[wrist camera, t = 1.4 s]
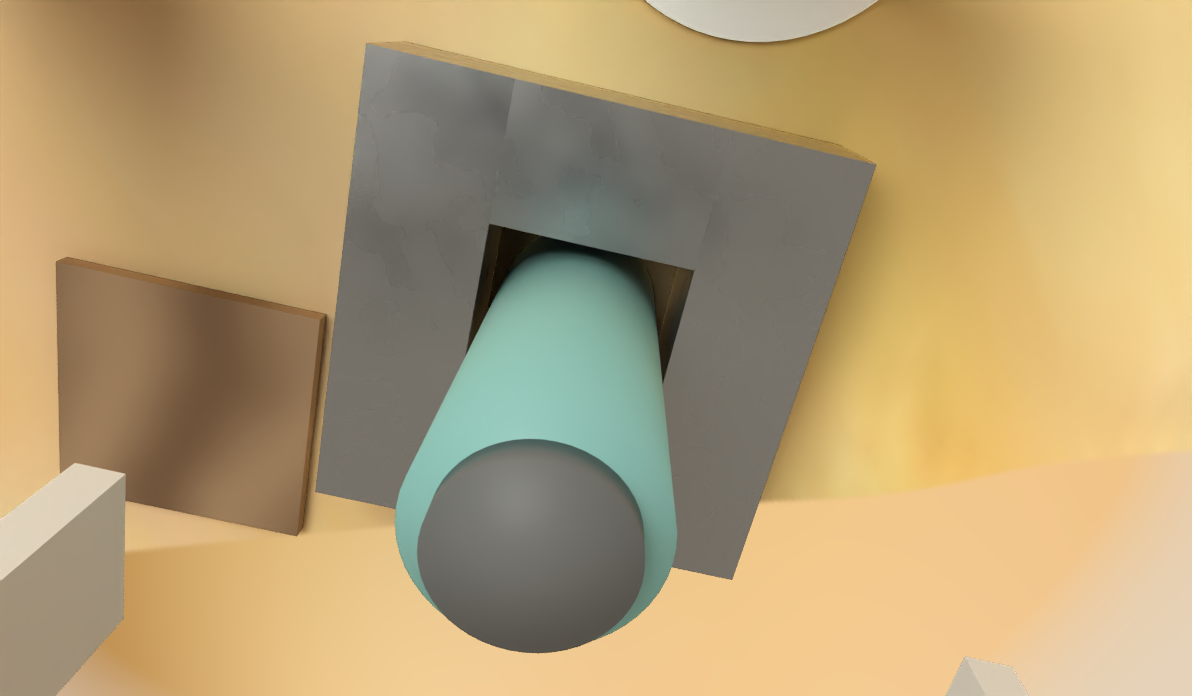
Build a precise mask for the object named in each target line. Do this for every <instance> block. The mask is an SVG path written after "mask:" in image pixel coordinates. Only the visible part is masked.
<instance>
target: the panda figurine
mask: <svg viewBox="0 0 1192 696" xmlns="http://www.w3.org/2000/svg"><path fill="white" fill-rule="evenodd" d="M645 1H646V2H647V3H649V4H650V5H651V6H652V7H654V8H655V9H657V10H658V11H659V12H661V13H662V14H664V15H665V16H667V17H669V18H670V19H672V20H674V21H676V22H678V23H680V24H681V25H684V26H686V27H688V28H691V29H693V30H695V31H698V32H701V33H704V34H707V35H711V36H714V37H719V38H724V39H728V40H736V41H746V42H771V41H781V40H789V39H794V38H798V37H803V36H807V35H810V34H814V33H817V32H820V31H823V30H826V29H828V28H830V27H833V26H835V25H837V24H840V23H842V22H844V21H846V20H848V19H850V18H851V17H853V16H855V15H857V14H859V13H860V12H862V11H864V10H865V9H867V8H868V7H870V6H871V5H872V4H874V3H875V2H877V1H878V0H645Z"/></svg>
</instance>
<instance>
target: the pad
mask: <svg viewBox="0 0 1192 696" xmlns="http://www.w3.org/2000/svg"><path fill="white" fill-rule="evenodd" d="M56 295H57V345H58V396H59V446H60V474H61V473H62V472H63V471H65V470H66V469H67V468H69V467H70V466H71V465H73V464H74V463H78V464H83V465H87V466H92V467H96V468H101V469H106V470H110V471H115V472H119V473H124V474H126V487H125V501H130V502H135V503H140V504H144V505H149V506H154V507H159V508H164V509H168V510H173V511H178V512H183V513H188V514H192V515H197V516H202V517H207V518H212V519H216V520H221V521H226V522H231V523H236V524H240V525H245V526H250V527H255V528H260V529H265V530H269V531H274V532H279V533H284V534H289V535H293V536H297V535H298V534H299V532H300V531H301V529H302V528H303V520H304V510H305V501H306V492H307V483H308V474H309V464H310V455H311V446H312V437H313V428H314V419H315V409H316V400H317V391H318V382H319V373H320V363H321V354H322V345H323V336H324V327H325V317H326V314H322V313H317V312H313V311H308V310H304V309H299V308H295V307H290V306H286V305H281V304H277V303H272V302H268V301H263V300H258V299H254V298H249V297H245V296H240V295H236V294H231V293H227V292H222V291H218V290H213V289H209V288H204V287H200V286H195V285H191V284H186V283H182V282H177V281H173V280H168V279H164V278H159V277H155V276H150V275H146V274H141V273H137V272H132V271H127V270H123V269H118V268H114V267H109V266H105V265H100V264H96V263H91V262H87V261H82V260H78V259H73V258H69V257H66V258H64V259H61V260H59V261H56Z"/></svg>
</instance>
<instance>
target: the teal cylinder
mask: <svg viewBox="0 0 1192 696" xmlns="http://www.w3.org/2000/svg"><path fill="white" fill-rule="evenodd" d="M395 530H396V539H397V543H398V548H399V552H400V555H401V558H402V560H403V563H404V566H405V568H406V570H407V572H408V574H409V575H410V577H411V579H412V581H413V582H414V584H415V585H416V586H417V588H418V589H419V590H420V592H421V593H422V595H423V596H424V597H425V598H426V599H427V600H428V601H429V602H430V603H431V604H432V605H433V606H434V607H435V608H436V609H437V610H438V611H440V612H441V613H442V614H443V615H444V616H446V617H447V619H448V620H450V621H451V622H452V623H453V624H455V625H456V626H457V627H458V628H460V629H461V630H463V631H464V632H466V633H467V634H469V635H471V636H472V637H475V638H477V639H478V640H480V641H482V642H485V643H487V644H490V645H493V646H496V647H499V648H503V649H507V650H511V651H518V652H526V653H548V652H557V651H562V650H568V649H571V648H574V647H578V646H581V645H583V644H586V643H588V642H590V641H593V640H596V639H598V638H601V637H603V636H606V635H608V634H610V633H612V632H614V631H616V630H618V629H619V628H621V627H623V626H625V625H626V624H627V623H629V622H630V621H632V620H633V619H634V618H636V617H637V616H638V615H639V614H640V613H641V612H642V611H643V610H644V609H645V608H646V607H647V606H649V604H650V603H651V602H652V601H653V599H654V598H655V597H656V596H657V594H658V593H659V592H660V590H661V588H662V586H663V585H664V583H665V581H666V579H667V577H668V575H669V572H670V569H671V567H672V564H673V560H674V556H675V551H676V542H677V527H676V515H675V505H674V495H673V485H672V475H671V465H670V455H669V445H668V435H667V425H666V415H665V405H664V394H663V384H662V374H661V364H660V354H659V344H658V334H657V324H656V314H655V304H654V294H653V287H652V283H651V279H650V277H649V274H648V271H647V269H646V268H645V266H644V264H643V262H642V261H641V259H640V258H637V257H633V256H629V255H624V254H620V253H616V252H611V251H607V250H602V249H598V248H594V247H589V246H585V245H581V244H576V243H572V242H567V241H563V240H559V239H554V238H550V237H546V236H540V237H538V238H536V239H535V240H533V241H532V242H530V243H529V244H528V245H527V246H526V247H525V248H524V249H523V250H521V252H520V253H519V254H518V255H517V257H516V258H515V259H514V261H513V263H512V264H511V266H510V268H509V270H508V272H507V274H506V276H505V278H504V280H503V282H502V284H501V286H500V288H499V290H498V292H497V294H496V296H495V298H494V300H493V302H492V304H491V306H490V308H489V310H488V312H487V314H486V316H485V318H484V320H483V322H482V324H481V326H480V328H479V330H478V332H477V334H476V336H475V338H474V340H473V342H472V344H471V346H470V348H469V350H468V352H467V354H466V356H465V358H464V360H463V362H462V364H461V366H460V368H459V370H458V372H457V374H456V376H455V378H454V380H453V382H452V384H451V386H450V388H449V390H448V392H447V394H446V396H445V399H444V401H443V403H442V405H441V407H440V409H439V411H438V413H437V415H436V417H435V419H434V421H433V423H432V425H431V427H430V429H429V431H428V433H427V435H426V437H425V439H424V441H423V443H422V445H421V447H420V449H419V451H418V453H417V455H416V457H415V459H414V461H413V463H412V465H411V467H410V469H409V471H408V473H407V475H406V477H405V479H404V482H403V484H402V487H401V489H400V492H399V496H398V501H397V505H396V515H395Z"/></svg>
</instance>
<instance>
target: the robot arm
mask: <svg viewBox="0 0 1192 696" xmlns="http://www.w3.org/2000/svg"><path fill="white" fill-rule="evenodd" d="M125 487H126V474H124V473H119V472H115V471H110V470H106V469H101V468H96V467H92V466H87V465H83V464H78V463H74V464H73V465H71V466H70V467H69V468H67V469H66V470H65V471H63V472H62V473H61V474H59V475H58V476H57V477H55V478H54V479H53V480H51V481H50V482H49V483H47V484H46V485H45V486H44V487H42V488H41V489H40V490H38V491H37V492H36V493H34V494H33V495H32V496H30V497H29V498H28V499H26V500H25V501H24V502H22V503H21V504H20V505H18V506H17V507H16V508H14V509H13V510H12V511H11V512H9V513H8V514H7V515H5V516H4V517H3V518H1V519H0V696H56V695H57V694H58V693H59V691H60V690H61V689H62V688H63V687H64V686H65V685H66V683H67V682H68V681H69V680H70V679H71V678H72V677H73V676H74V674H75V673H76V672H77V671H78V670H79V669H80V668H81V666H82V665H83V664H84V663H85V662H86V661H87V660H88V658H89V657H90V656H91V655H92V654H93V653H94V652H95V651H96V649H97V648H98V647H99V646H100V645H101V644H102V643H103V642H104V640H105V639H106V638H107V637H108V636H109V634H111V632H112V631H113V630H114V629H115V628H116V627H117V626H118V625H119V623H120V622H121V621H122V620H123V610H124V609H123V608H124V549H125ZM946 696H1029V694H1028V693H1027V691H1026V689H1025V688H1024V686H1023V685H1022V683H1021V681H1020V679H1019V678H1018V676H1017V674H1016V673H1015V671H1014V669H1013V667H1011V666H1007V665H1003V664H997V663H993V662H988V661H984V660H979V659H975V658H970V657H964V659H963V661H962V663H961V665H960V667H959V669H958V671H957V673H956V676H955V678H954V679H953V682H952V684H951V685H950V688H949V690H948V692H947V694H946Z"/></svg>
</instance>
